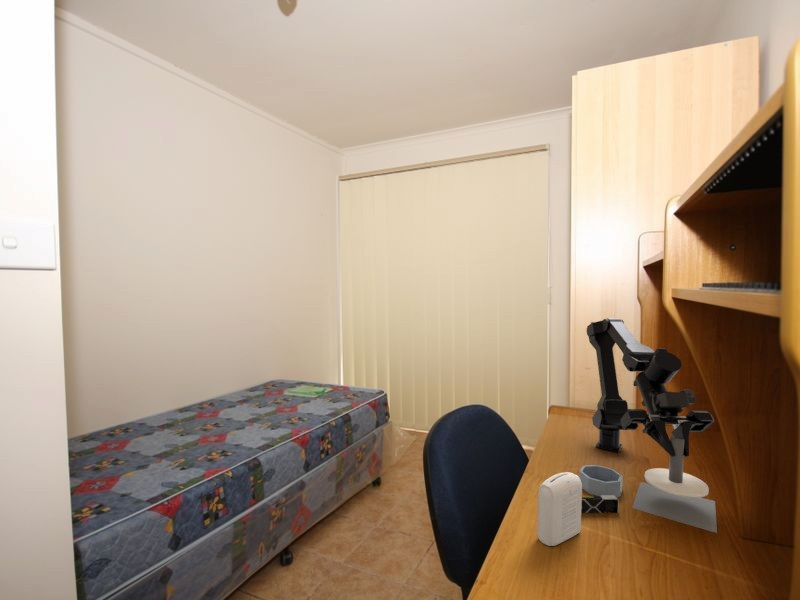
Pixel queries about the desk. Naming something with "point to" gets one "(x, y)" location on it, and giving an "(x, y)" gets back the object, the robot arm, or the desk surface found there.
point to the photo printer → (559, 508)
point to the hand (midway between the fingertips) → (680, 456)
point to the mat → (676, 507)
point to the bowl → (601, 480)
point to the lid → (676, 476)
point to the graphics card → (599, 504)
